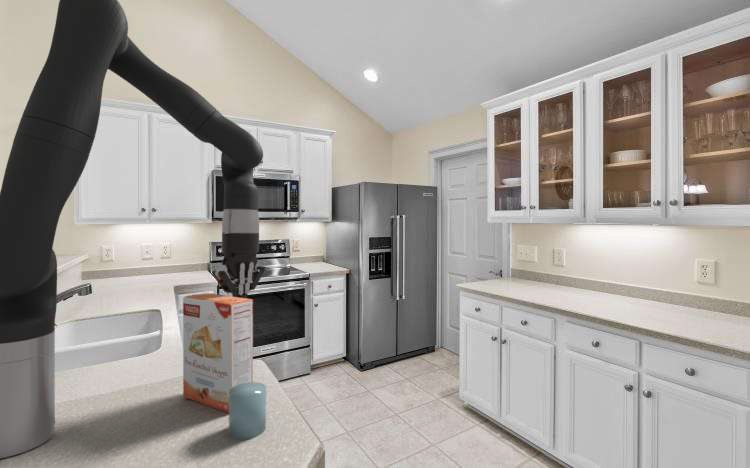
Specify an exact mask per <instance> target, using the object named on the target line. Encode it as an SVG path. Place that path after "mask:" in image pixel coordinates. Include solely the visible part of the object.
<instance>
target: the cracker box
mask: <svg viewBox="0 0 750 468" xmlns="http://www.w3.org/2000/svg"><path fill="white" fill-rule="evenodd" d="M182 300H183V301H182V308H183V310H182V311H183V312H182V314H183V315H182V316H183V317H182V325H183V326H182V327H183V329H182V330H183V331H182V332H183V333H182V335H183V336H182V343H183V345H182V347H183V349H182V350H183V351H182V355H183V356H182V359H183V361H182V362H183V368H182V370H183V371H182V374H183V375H182V377H183V383H182V384H183V385H182V387H183V388H182V389H183V390H182V391H183V394H182V395H183V398H186V399H189V400H192V401H194V402H197V403H200V404H203V405H205V406H209V407H211V408H214V409H216V410H220V411H222V412H225V413H228V414H229V391H230V389H231V388H233V387H234V386H236V385H239V384H242V383H248V382H254V378H253V376H254V375H253V374H254V373H253V372H254V363H253V362H254V360H253V359H254V358H253V357H254V354H253V353H254V351H253V350H254V348H253V347H254V300H253V299H252V298H247V299H246V298H239V297H233V295H231V296H230V295H225V294H218V293H210V292H204V293H203V292H202V293H197V294H190V295H186V296H183V298H182Z"/></svg>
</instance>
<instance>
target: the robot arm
mask: <svg viewBox="0 0 750 468" xmlns="http://www.w3.org/2000/svg"><path fill="white" fill-rule="evenodd" d="M56 12H57V13H56V19H55V25H54V30H53V35H52V39H51V43H50V48H49V52H48V55H47V58H46V61H45V62H44V65H43V67H42V68H41V71H40V74H39V75H38V78H37V79H36V82H35V83H34V86H33V87H32V90H31V93H30V95H29V99H28V100H27V103H26V106H25V108H24V109H23V113H22V114H21V115H22V116H21V118H20V120H19V123H18V125H17V129H16V132H15V135H14V139H13V142H12V145H11V148H10V152H9V156H8V159H7V162H6V166H5V170H4V175H3V179H2V183H1V184H2V185H1V188H0V459H4V458H8V457H9V458H10V457H13V456H16V455H19V454H22V453H26V452H28V451H30V450H33V449H35V448H36V447H39V446H41V445H43V444H44V443H46V442H47V441H49V440H50V439H51V438H52V437H53V436H54V435H55V430H56V428H55V427H56V425H55V424H56V412H55V411H56V410H55V409H56V406H55V405H56V401H55V399H56V395H55V394H56V391H55V389H56V387H55V385H56V382H55V379H56V378H55V377H56V373H55V372H56V371H55V369H56V365H55V364H56V361H55V359H56V358H55V357H56V354H55V349H56V346H55V345H56V344H55V343H56V340H55V337H56V335H55V334H56V333H55V332H56V330H55V329H56V328H55V327H56V325H55V324H56V315H57V314H56V313H57V306H58V305H57V302H58V301H57V299H58V296H57V295H58V290H57V289H58V260H57V259H58V258H57V255H56V252H55V250H54V249H53V247H54V241H55V237H56V232H57V228H58V224H59V220H60V216H61V214H62V211H63V209H64V207H65V205H66V202H68V199H69V198H70V196H71V194H72V192H73V191H74V189H75V188H76V185H78V182H79V181H80V178H81V177H82V176H81V175H82V174H83V172H84V169H85V168H86V166H87V162H88V161H89V157H90V154H91V150H92V148H93V144H94V142H95V138H96V134H97V129H98V126H99V121H100V113H101V108H102V107H101V105H102V96H103V88H104V84H105V83H104V81H105V78H106V75H107V73H108V70H109V71H111V72H112V73H114V74H116V75H117V76H118V77H120V78H121V79H122V80H124V81H125V82H127V83H128V84H130V85H131V86H132V87H134V88H135V89H136V90H138V91H139V92H140V93H142V94H143V95H145V96H146V97H147V98H149V99H150V100H151V101H152V102H153V103H155V105H157V106H159V108H161V109H162V110H163V111H164V112H166V113H167V114H168V115H169V116H170V117H172V118H173V119H174V120H175V121H176V122H177V123H179V125H181V126H182V127H183V128H185V130H187V131H188V132H189V133H190V134H192V135H193V137H196V139H198V140H199V141H201V142H202V143H207V144H211V145H212V146H213V147H214V148H216V149H217V150H218V151H220V152H221V155H220V156H221V157H220V163H221V164H220V165H221V166H220V167H221V174H222V182H223V187H224V188H223V189H224V191H223V210H222V211H223V213H222V218H221V219H222V221H221V252H222V253H223V258H222V261H221V266H220V267H219V268H218V269H214V270H213V271H212V276H213V278H214V279H215V280H216V281H217V283H218V285H219V286H220V287H221V289H222V290H223V292H224V293H228V294H231V296H232V297H239V298H246V299H249V298H248V295H249V293H250V292H251V291H253V290H255V289H256V288H257V285H258V284H259V282H260V281H261V278H262V276H263V274H264V273H265V271H266V267H265V266H263V265H262V266H261V265H260V264H259V263H258V258H257V253H259V252H260V215H259V188H258V187H257V184H255V182H254V169H255V168H257V167H258V166H259V165H260V164H261V163H262V161H263V158H264V151H263V147H262V146H261V144H260V143H259V141H258V140H257V139H256V138H255V137H254V136H253V134H251V133H250V132H248V131H247V130H246V129H244V128H243V127H241V126H240V125H238V124H237V123H235V122H233V121H232V120H230V119H229V118H227V117H225V116H224V115H223V114H222V113H221V112H220V111H219V110H218V109H217V108H216V107H215V106H213V104H212V103H211V102H209V101H208V100H207V99H206V98H205V97H204V96H203V95H201V94H200V93H199V92H198V91H197V90H195V89H194V88H193V87H191V86H190V85H189V84H187V83H186V82H183V81H182V80H180V79H179V78H177V77H176V76H174V75H172V74H170V73H169V72H168V71H166V70H165V69H163V68H162V67H160V66H159V65H157V64H156V63H155V62H153V60H151V59H150V58H149V57H148V56H147V55H146V54H144V52H143V51H142V50H141V49H140V48H139V47H138V46H137V45H136V43H134V42H133V40H132V39H131V38H130V37H129V36H128V35H129V34H128V32H129V23H128V20H127V19H128V18H127V15H126V12H125V10H124V8H123V7H122V5H121V3H120V2H119V1H118V0H59V1H58V6H57V11H56Z"/></svg>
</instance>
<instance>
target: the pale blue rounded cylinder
mask: <svg viewBox="0 0 750 468" xmlns="http://www.w3.org/2000/svg"><path fill="white" fill-rule="evenodd" d="M266 416H267V387H266V385H265V384H264V383H263V382H259V381H258V382H257V381H253V382H248V383H242V384H239V385H236V386H234V387H233V388H231V389H230V391H229V413H228V435H229V436H230V438H232V439H234V440H239V441H245V440H249V439H250V440H251V439H254V438H257V437H258V436H259V437H260V435H262V434H264V432H265V431H266V428H267V426H266V424H267V421H266V420H267V419H266V418H267V417H266Z"/></svg>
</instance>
